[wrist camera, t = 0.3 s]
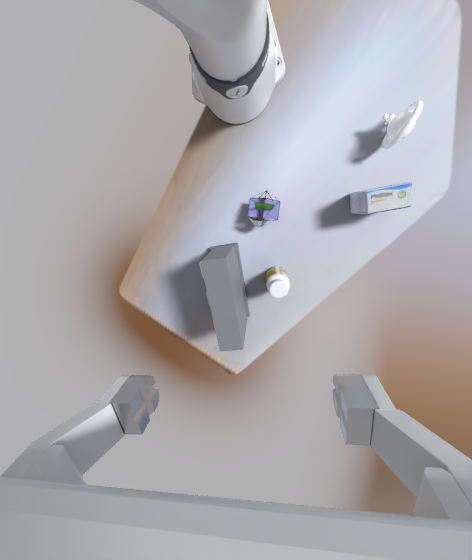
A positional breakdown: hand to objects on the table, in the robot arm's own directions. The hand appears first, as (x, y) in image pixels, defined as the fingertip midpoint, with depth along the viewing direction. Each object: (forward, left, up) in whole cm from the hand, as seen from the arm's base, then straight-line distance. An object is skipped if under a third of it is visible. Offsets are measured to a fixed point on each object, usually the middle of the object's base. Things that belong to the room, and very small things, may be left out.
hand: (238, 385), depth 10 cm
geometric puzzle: (-6, +2, -48) cm, 49 cm away
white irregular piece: (-17, +28, -48) cm, 58 cm away
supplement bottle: (+11, +3, -48) cm, 49 cm away
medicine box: (-4, +25, -48) cm, 54 cm away
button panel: (+11, -8, -48) cm, 50 cm away
